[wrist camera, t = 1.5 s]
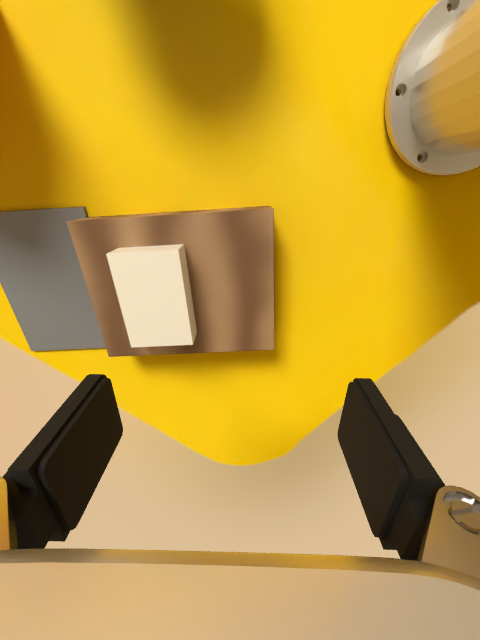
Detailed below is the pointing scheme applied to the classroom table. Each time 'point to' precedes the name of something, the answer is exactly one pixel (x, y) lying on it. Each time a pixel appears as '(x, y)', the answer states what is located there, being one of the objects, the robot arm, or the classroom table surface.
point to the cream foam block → (154, 294)
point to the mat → (47, 280)
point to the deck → (190, 274)
